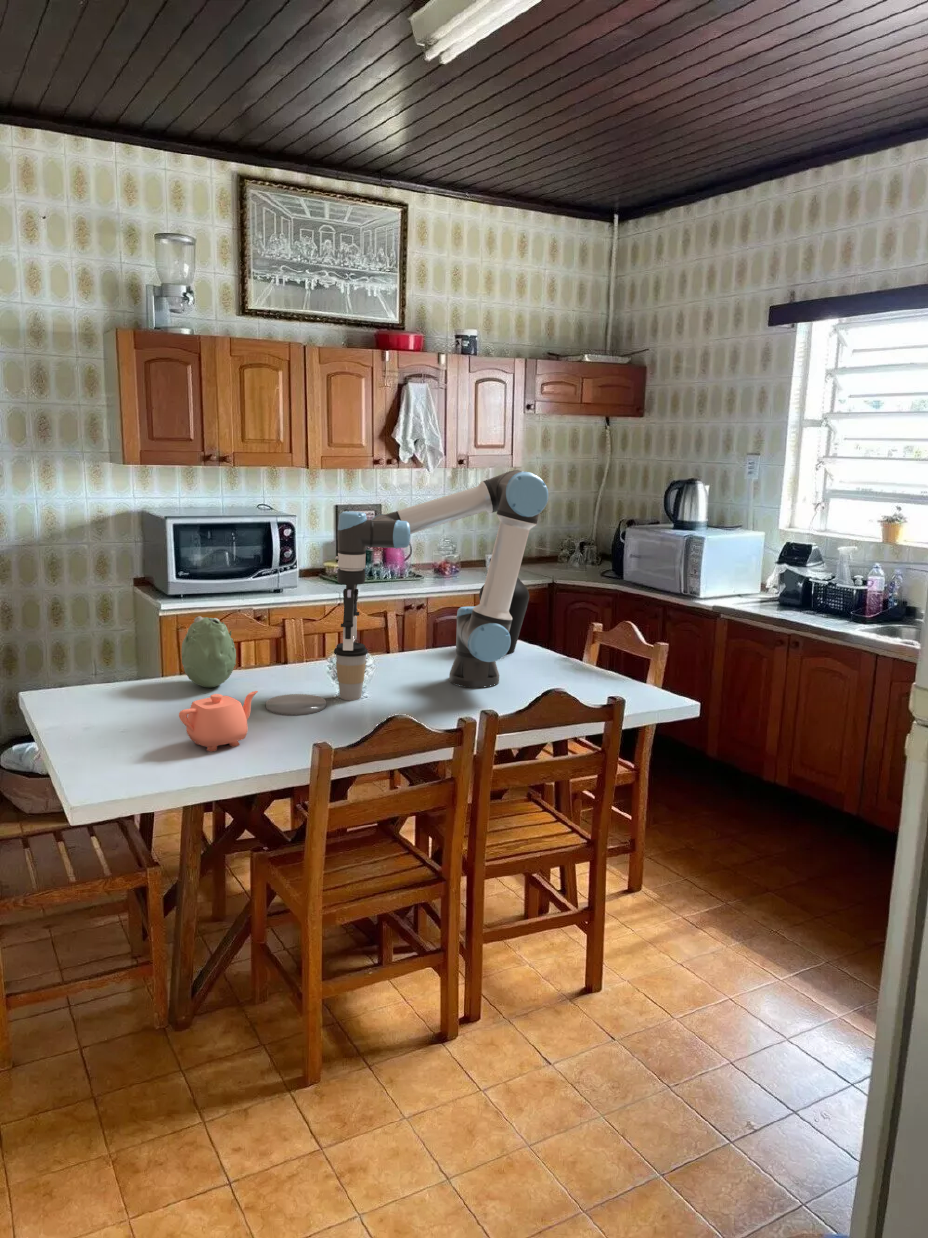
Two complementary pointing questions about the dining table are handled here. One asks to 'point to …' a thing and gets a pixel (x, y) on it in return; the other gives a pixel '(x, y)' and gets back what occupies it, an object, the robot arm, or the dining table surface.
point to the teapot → (217, 720)
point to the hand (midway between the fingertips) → (349, 644)
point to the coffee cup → (350, 670)
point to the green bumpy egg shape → (208, 652)
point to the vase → (516, 611)
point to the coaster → (295, 704)
